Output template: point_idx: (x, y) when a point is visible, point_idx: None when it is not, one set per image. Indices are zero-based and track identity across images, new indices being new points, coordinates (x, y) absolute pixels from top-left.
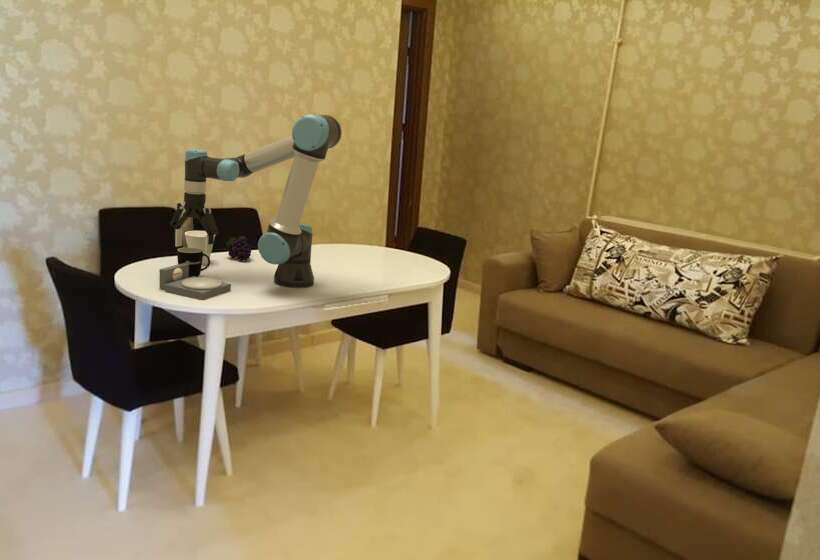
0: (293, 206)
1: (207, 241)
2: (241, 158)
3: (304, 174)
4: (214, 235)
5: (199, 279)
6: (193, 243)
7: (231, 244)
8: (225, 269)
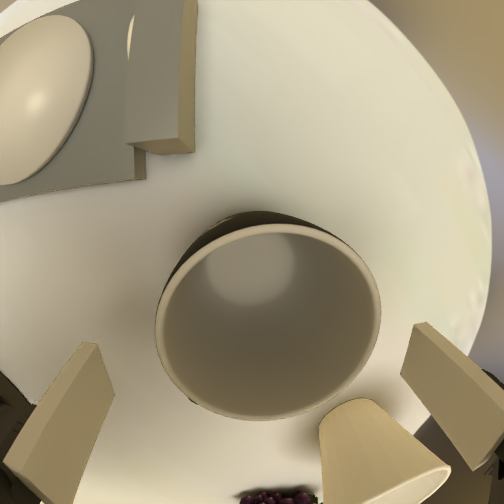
0: None
1: (33, 417)
2: None
3: None
4: None
5: (38, 114)
6: (387, 458)
7: None
8: (224, 432)
